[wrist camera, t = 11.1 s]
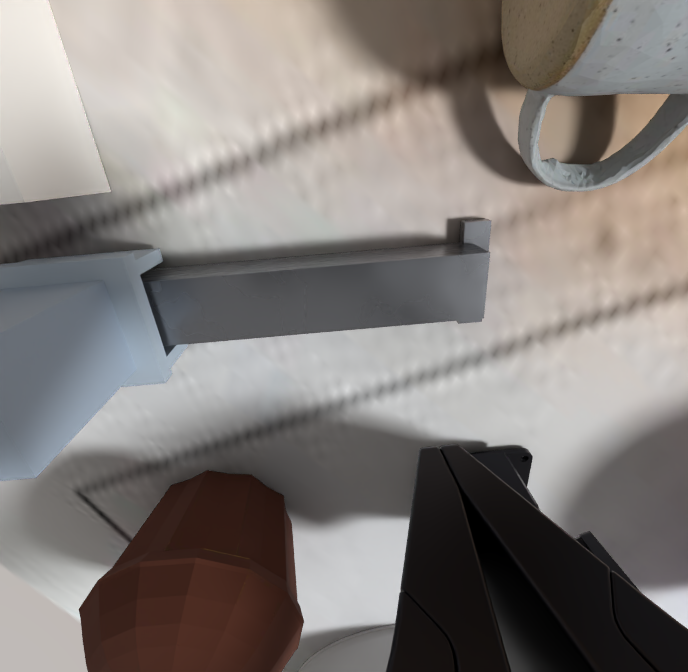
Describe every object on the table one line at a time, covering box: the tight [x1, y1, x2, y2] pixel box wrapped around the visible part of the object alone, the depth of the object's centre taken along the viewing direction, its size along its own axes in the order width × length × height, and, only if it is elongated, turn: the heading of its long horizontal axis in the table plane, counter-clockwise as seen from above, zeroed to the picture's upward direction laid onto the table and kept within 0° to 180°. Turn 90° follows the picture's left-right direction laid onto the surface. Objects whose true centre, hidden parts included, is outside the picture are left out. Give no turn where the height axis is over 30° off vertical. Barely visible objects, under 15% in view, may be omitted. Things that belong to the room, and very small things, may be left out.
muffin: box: [79, 470, 304, 672], centre depth 20 cm, size 12×11×10 cm
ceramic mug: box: [501, 0, 688, 191], centre depth 11 cm, size 11×8×8 cm
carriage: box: [0, 248, 188, 481], centre depth 13 cm, size 6×6×9 cm
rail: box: [140, 219, 491, 346], centre depth 17 cm, size 5×26×2 cm, turn 94°
